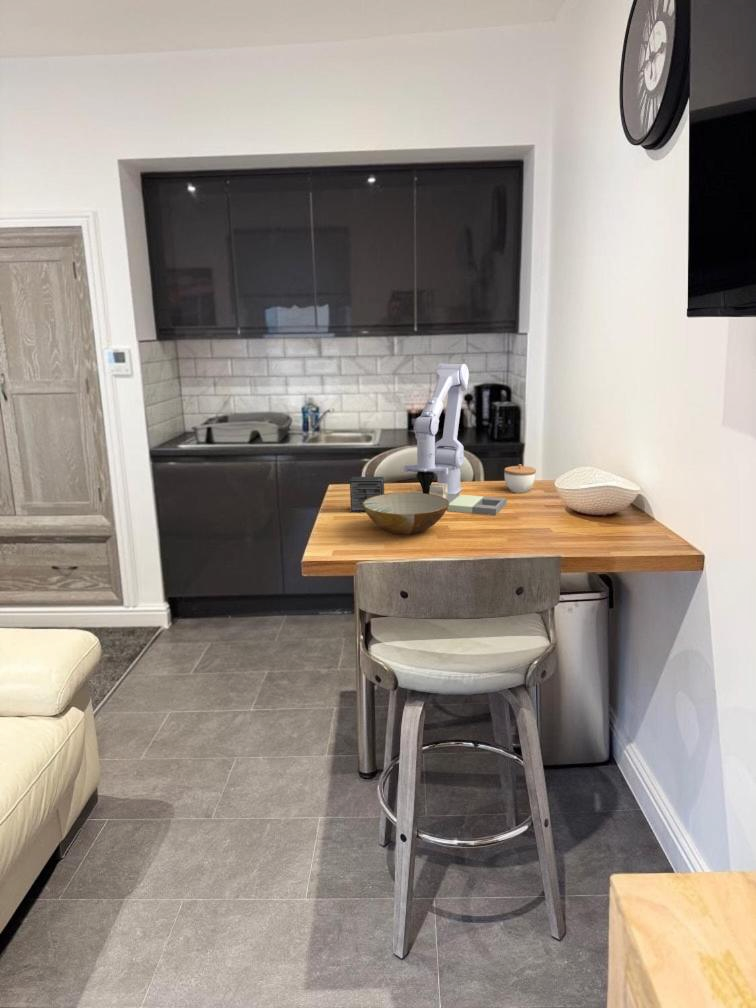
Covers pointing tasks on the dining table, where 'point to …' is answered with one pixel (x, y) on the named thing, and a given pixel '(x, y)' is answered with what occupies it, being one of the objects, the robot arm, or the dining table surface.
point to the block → (439, 490)
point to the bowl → (405, 511)
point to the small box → (364, 490)
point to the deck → (474, 503)
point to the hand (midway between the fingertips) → (426, 494)
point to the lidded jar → (519, 478)
